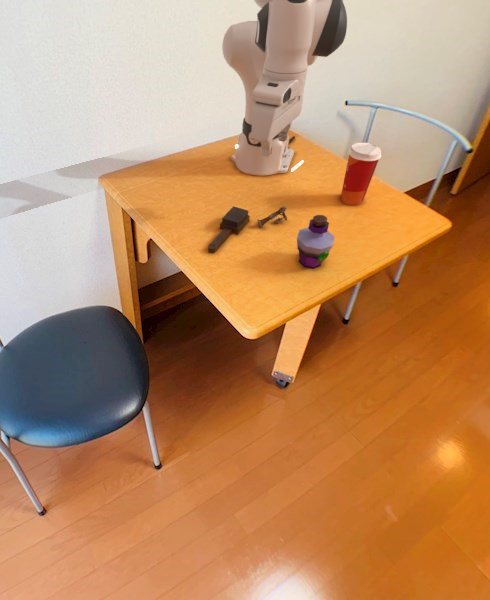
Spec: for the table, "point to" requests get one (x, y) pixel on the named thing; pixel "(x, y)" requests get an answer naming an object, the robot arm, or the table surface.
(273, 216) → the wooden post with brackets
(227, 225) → the mallet
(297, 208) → the table surface
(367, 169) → the coffee cup
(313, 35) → the robot arm
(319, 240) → the potion bottle
